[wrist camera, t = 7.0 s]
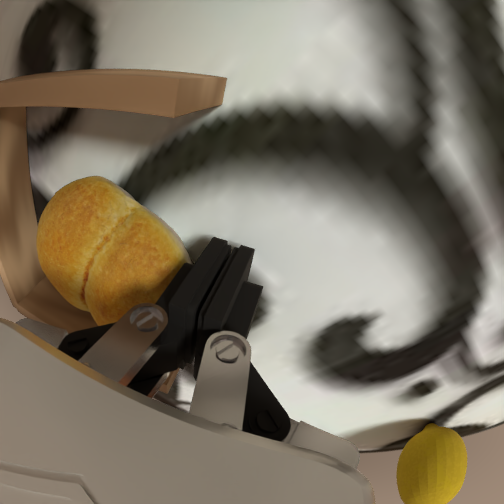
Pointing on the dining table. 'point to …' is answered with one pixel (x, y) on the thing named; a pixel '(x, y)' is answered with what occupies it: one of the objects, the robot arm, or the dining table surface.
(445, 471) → the lemon
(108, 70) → the bay
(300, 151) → the dining table surface
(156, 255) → the bread roll
